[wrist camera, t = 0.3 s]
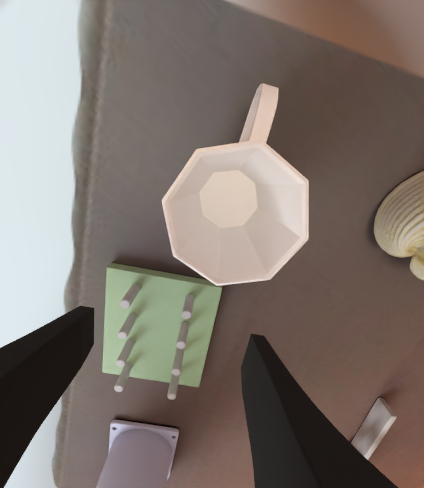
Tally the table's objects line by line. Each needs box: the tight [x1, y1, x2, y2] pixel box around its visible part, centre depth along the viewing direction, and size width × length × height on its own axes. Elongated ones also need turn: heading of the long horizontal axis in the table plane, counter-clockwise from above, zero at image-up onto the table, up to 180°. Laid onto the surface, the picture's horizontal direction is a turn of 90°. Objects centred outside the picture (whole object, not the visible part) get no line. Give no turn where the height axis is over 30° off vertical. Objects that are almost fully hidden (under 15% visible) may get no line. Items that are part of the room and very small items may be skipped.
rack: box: [102, 263, 222, 400], centre depth 20 cm, size 12×10×4 cm
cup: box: [162, 83, 309, 286], centre depth 14 cm, size 7×10×8 cm
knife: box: [351, 398, 397, 461], centre depth 25 cm, size 13×2×3 cm, turn 169°
